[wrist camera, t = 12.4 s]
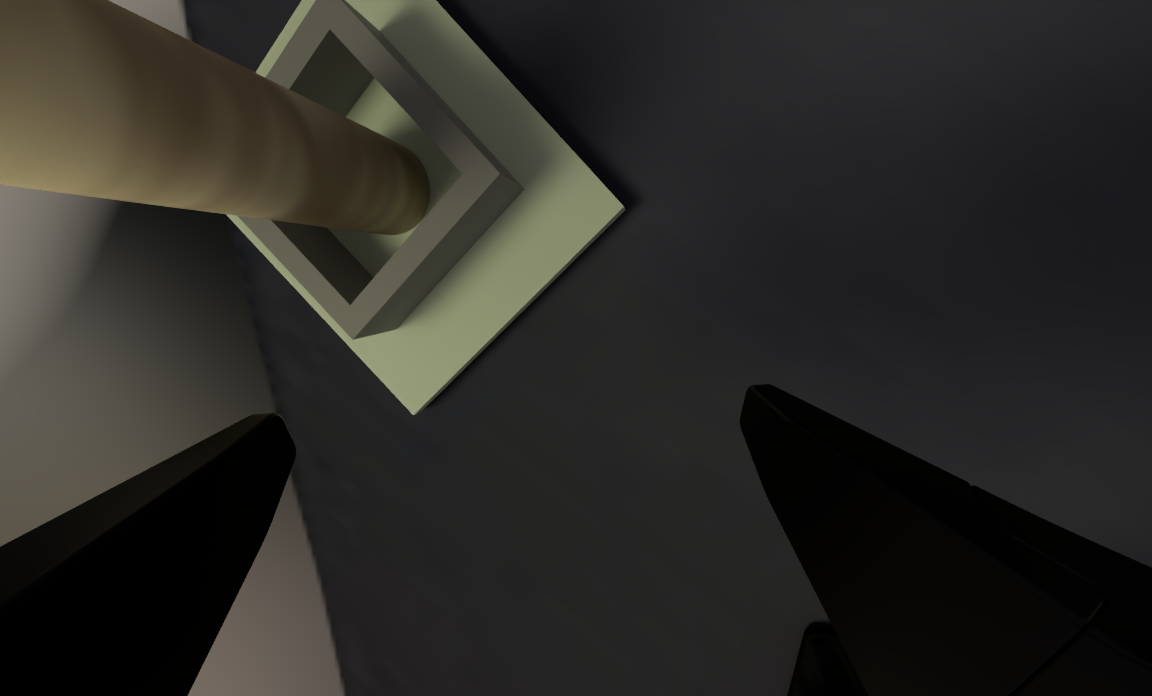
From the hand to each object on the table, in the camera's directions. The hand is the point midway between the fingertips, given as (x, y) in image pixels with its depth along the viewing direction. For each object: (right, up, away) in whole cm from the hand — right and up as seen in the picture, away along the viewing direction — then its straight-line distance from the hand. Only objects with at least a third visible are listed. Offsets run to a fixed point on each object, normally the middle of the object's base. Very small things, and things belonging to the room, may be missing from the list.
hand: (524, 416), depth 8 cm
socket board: (-7, +9, +12) cm, 16 cm away
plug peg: (-7, +9, +11) cm, 15 cm away
